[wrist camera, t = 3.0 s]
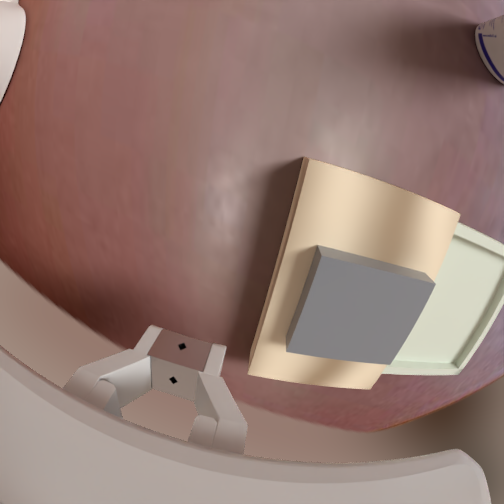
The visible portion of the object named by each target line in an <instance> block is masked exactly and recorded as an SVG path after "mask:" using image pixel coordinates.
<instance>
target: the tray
mask: <svg viewBox="0 0 504 504" xmlns="http://www.w3.org/2000/svg"><path fill="white" fill-rule="evenodd" d="M434 282H435V283H436V285H435V287H434V289H433V291H432V293H431V295H430V297H429V299H428V301H427V303H426V305H425V307H424V309H423V311H422V313H421V315H420V316H419V318H418V320H417V322H416V324H415V325H414V327H413V329H412V331H411V332H410V334H409V336H408V337H407V339H406V341H405V342H404V344H403V346H402V347H401V349H400V351H399V352H398V354H397V355H396V357H395V358H394V360H393V361H392V363H391V364H390V365H387V366H386V368H385V369H384V370H383V372H382V374H402V375H459V373H460V372H461V371H462V369H463V368H464V367H465V365H466V364H467V362H468V361H469V360H470V358H471V357H472V355H473V354H474V352H475V351H476V349H477V348H478V346H479V345H480V343H481V342H482V340H483V339H484V337H485V335H486V334H487V332H488V331H489V329H490V327H491V325H492V324H493V322H494V320H495V318H496V317H497V315H498V313H499V311H500V309H501V307H502V306H503V304H504V244H503V243H501V242H499V241H497V240H495V239H493V238H491V237H489V236H487V235H485V234H483V233H481V232H479V231H477V230H475V229H473V228H471V227H469V226H466V225H464V224H462V223H460V222H458V223H457V226H456V229H455V232H454V235H453V237H452V240H451V243H450V245H449V248H448V250H447V253H446V255H445V258H444V260H443V263H442V265H441V267H440V270H439V272H438V274H437V276H436V278H435V281H434Z"/></svg>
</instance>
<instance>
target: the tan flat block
mask: <svg viewBox="0 0 504 504" xmlns="http://www.w3.org/2000/svg"><path fill="white" fill-rule="evenodd" d="M459 217H460V214H459V213H457V212H455V211H453V210H451V209H449V208H447V207H445V206H443V205H441V204H439V203H436V202H434V201H432V200H429V199H427V198H425V197H422V196H420V195H418V194H415V193H413V192H410V191H408V190H405V189H402V188H400V187H397V186H395V185H392V184H389V183H386V182H384V181H381V180H378V179H375V178H372V177H369V176H367V175H364V174H361V173H358V172H354V171H351V170H348V169H345V168H342V167H339V166H335V165H332V164H329V163H325V162H322V161H318V160H315V159H311V158H307V157H304V158H303V162H302V166H301V170H300V174H299V178H298V182H297V186H296V189H295V193H294V197H293V201H292V205H291V209H290V213H289V216H288V220H287V224H286V228H285V231H284V235H283V239H282V243H281V246H280V250H279V253H278V257H277V261H276V264H275V268H274V272H273V275H272V279H271V282H270V286H269V289H268V293H267V296H266V300H265V303H264V307H263V310H262V313H261V317H260V320H259V324H258V327H257V330H256V334H255V337H254V341H253V344H252V347H251V350H250V358H249V366H248V375H253V376H259V377H264V378H270V379H276V380H282V381H289V382H296V383H303V384H311V385H320V386H330V387H341V388H354V389H371V387H372V386H373V385H374V383H375V382H376V381H377V379H378V378H379V376H380V375H381V373H382V372H383V370H384V369H385V368H386V366H387V365H385V364H373V363H362V362H353V361H344V360H336V359H329V358H321V357H314V356H308V355H301V354H295V353H289V352H286V334H287V331H288V329H289V326H290V323H291V320H292V318H293V315H294V312H295V310H296V307H297V304H298V301H299V298H300V295H301V293H302V290H303V287H304V284H305V281H306V278H307V275H308V272H309V269H310V266H311V263H312V260H313V257H314V254H315V251H316V248H317V245H321V246H325V247H329V248H333V249H337V250H341V251H345V252H349V253H352V254H356V255H360V256H364V257H368V258H372V259H376V260H380V261H383V262H387V263H391V264H395V265H399V266H402V267H406V268H410V269H413V270H417V271H421V272H424V273H426V274H427V275H428V276H429V277H430V278H431V279H432V280H433V281H435V278H436V276H437V274H438V272H439V270H440V267H441V265H442V263H443V260H444V258H445V255H446V253H447V250H448V248H449V245H450V243H451V240H452V237H453V235H454V232H455V229H456V226H457V223H458V220H459Z"/></svg>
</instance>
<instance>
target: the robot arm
mask: <svg viewBox="0 0 504 504" xmlns="http://www.w3.org/2000/svg"><path fill="white" fill-rule="evenodd" d="M25 24H26V16H25V12H24V10H23V8H22V7H20V6H19V4H18V0H0V102H1V100H2V98H3V95H4V93H5V91H6V88H7V86H8V84H9V81H10V78H11V76H12V73H13V70H14V68H15V65H16V62H17V59H18V55H19V52H20V49H21V45H22V41H23V37H24V32H25ZM225 352H226V346H224V345H220V344H216V343H211V342H207V341H203V340H199V339H196V338H192V337H189V336H185V335H182V334H179V333H176V332H173V331H170V330H167V329H163V328H160V327H157V326H154V325H150V326H149V327H148V329H147V330H146V331H145V333H144V334H143V336H142V337H141V339H140V340H139V342H138V343H137V345H136V346H135V348H134V349H133V350H132V349H127V350H125V351H122V352H119V353H117V354H114V355H111V356H109V357H106V358H103V359H101V360H98V361H95V362H92V363H89V364H87V365H84V366H81V367H79V368H78V369H77V371H76V372H75V373H74V374H73V376H72V377H71V378H70V380H69V381H68V382H67V383H66V385H65V386H64V387H63V389H62V388H61V387H59V386H57V385H56V384H54V383H52V382H51V381H49V380H47V379H46V378H45V377H43V376H41V375H40V374H38V373H37V372H35V371H34V370H32V369H31V368H30V367H28V366H27V365H25V364H24V363H22V362H21V361H20V360H18V359H17V358H16V357H14V356H13V355H12V354H10V353H9V352H8V351H7V350H5V349H4V348H3V347H2V346H0V504H491V500H490V494H489V490H488V486H487V482H486V479H485V475H484V473H483V470H482V468H481V467H480V465H479V464H477V463H476V462H475V461H474V460H473V459H472V458H471V457H469V456H468V455H467V454H466V453H464V452H463V451H462V450H460V449H452V450H447V451H443V452H438V453H433V454H428V455H423V456H417V457H410V458H403V459H396V460H386V461H374V462H354V463H321V462H301V461H289V460H279V459H270V458H262V457H255V456H250V455H244V447H245V441H246V433H247V427H248V424H247V423H246V421H245V419H244V417H243V416H242V414H241V412H240V410H239V408H238V406H237V405H236V403H235V401H234V399H233V397H232V395H231V393H230V391H229V389H228V388H227V386H226V384H225V382H224V380H223V378H222V377H220V374H221V370H222V365H223V361H224V356H225ZM152 388H153V389H156V390H159V391H162V392H165V393H169V394H172V395H175V396H178V397H181V398H184V399H187V400H190V401H194V404H195V407H196V410H197V413H198V415H199V416H197V417H196V418H195V421H194V424H193V427H192V430H191V433H190V436H189V439H188V442H187V441H184V440H180V439H177V438H174V437H171V436H168V435H165V434H161V433H159V432H156V431H153V430H150V429H147V428H145V427H142V426H139V425H137V424H134V423H132V422H129V421H127V420H124V419H123V417H122V413H121V409H120V408H122V407H124V406H125V405H127V404H129V403H130V402H132V401H134V400H135V399H137V398H139V397H140V396H142V395H143V394H145V393H147V392H148V391H150V390H151V389H152Z"/></svg>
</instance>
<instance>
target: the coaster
mask: <svg viewBox="0 0 504 504" xmlns="http://www.w3.org/2000/svg"><path fill="white" fill-rule="evenodd" d="M435 285H436V283H435V282H434V281H433V280H432V279H431V278H430V277H429V276H428V275H427V274H426V273H424V272H421V271H417V270H413V269H410V268H406V267H402V266H399V265H395V264H391V263H387V262H383V261H380V260H376V259H372V258H368V257H364V256H360V255H356V254H352V253H349V252H345V251H341V250H337V249H333V248H329V247H325V246H321V245H317V248H316V251H315V254H314V257H313V260H312V263H311V266H310V269H309V272H308V275H307V278H306V281H305V284H304V287H303V290H302V293H301V295H300V298H299V301H298V304H297V307H296V310H295V312H294V315H293V318H292V320H291V323H290V326H289V329H288V331H287V334H286V352H289V353H295V354H301V355H308V356H314V357H321V358H329V359H336V360H344V361H353V362H362V363H373V364H385V365H390V364H391V363H392V361H393V360H394V358H395V357H396V355H397V354H398V352H399V351H400V349H401V347H402V346H403V344H404V342H405V341H406V339H407V337H408V336H409V334H410V332H411V331H412V329H413V327H414V325H415V324H416V322H417V320H418V318H419V316H420V315H421V313H422V311H423V309H424V307H425V305H426V303H427V301H428V299H429V297H430V295H431V293H432V291H433V289H434V287H435Z"/></svg>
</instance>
